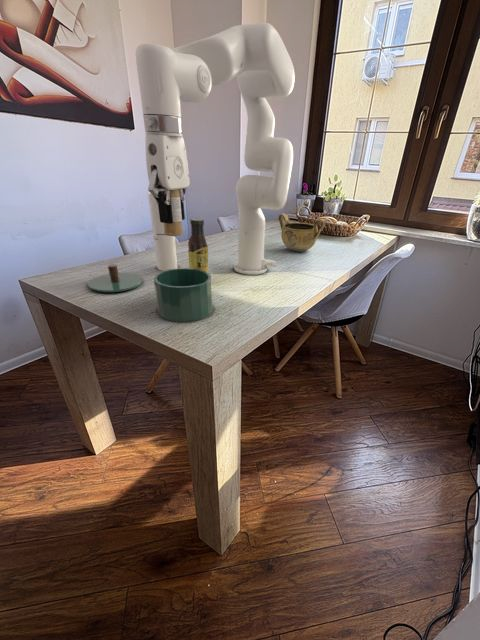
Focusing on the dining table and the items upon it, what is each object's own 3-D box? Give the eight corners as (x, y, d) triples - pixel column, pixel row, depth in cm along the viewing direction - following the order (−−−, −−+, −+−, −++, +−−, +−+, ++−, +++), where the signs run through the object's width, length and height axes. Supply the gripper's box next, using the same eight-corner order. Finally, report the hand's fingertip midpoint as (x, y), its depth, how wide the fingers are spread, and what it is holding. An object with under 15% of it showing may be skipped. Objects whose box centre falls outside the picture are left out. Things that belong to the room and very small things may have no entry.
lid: (146, 276, 106) (144, 258, 103) (135, 294, 93) (131, 274, 90) (99, 275, 105) (95, 257, 101) (80, 293, 92) (75, 273, 88)
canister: (213, 299, 93) (212, 268, 88) (210, 322, 81) (209, 288, 76) (163, 298, 92) (159, 267, 87) (153, 322, 80) (148, 287, 74)
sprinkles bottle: (160, 234, 76) (153, 170, 68) (176, 231, 79) (170, 170, 71) (172, 237, 73) (165, 172, 66) (187, 235, 76) (182, 172, 69)
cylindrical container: (172, 271, 112) (164, 195, 98) (154, 269, 113) (143, 193, 99) (180, 265, 118) (174, 192, 104) (163, 263, 119) (154, 191, 105)
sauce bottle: (200, 286, 101) (196, 222, 91) (186, 282, 104) (180, 219, 93) (213, 281, 106) (210, 219, 95) (199, 277, 109) (195, 216, 98)
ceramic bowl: (326, 251, 147) (332, 217, 139) (311, 258, 135) (317, 222, 127) (285, 242, 157) (288, 210, 149) (268, 249, 144) (270, 214, 136)
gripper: (155, 125, 57) (166, 229, 67) (199, 131, 70) (203, 217, 80) (120, 123, 58) (137, 225, 68) (170, 129, 72) (177, 214, 82)
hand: (172, 220), depth 74 cm, fingers closed on sprinkles bottle, 4 cm apart
